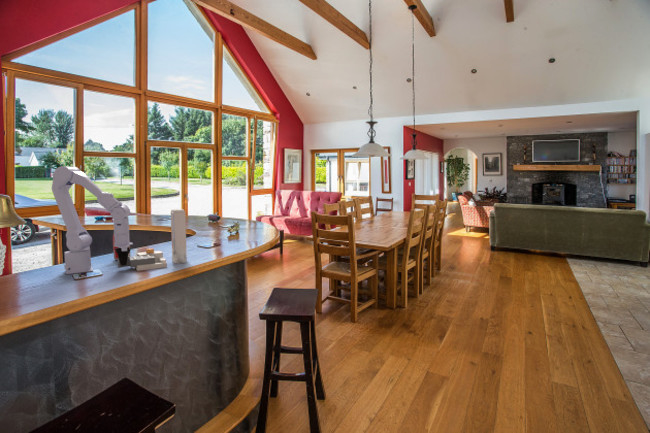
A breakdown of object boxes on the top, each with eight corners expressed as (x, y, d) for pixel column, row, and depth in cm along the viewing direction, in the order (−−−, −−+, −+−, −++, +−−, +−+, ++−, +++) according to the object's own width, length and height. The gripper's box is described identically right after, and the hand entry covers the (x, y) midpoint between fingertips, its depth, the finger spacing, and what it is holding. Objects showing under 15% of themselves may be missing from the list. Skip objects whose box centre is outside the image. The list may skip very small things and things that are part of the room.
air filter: (182, 264, 176) (180, 210, 173) (169, 263, 177) (167, 209, 174) (189, 260, 182) (188, 209, 179) (177, 260, 184) (175, 208, 181)
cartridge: (119, 268, 161) (118, 259, 161) (117, 265, 166) (116, 256, 166) (155, 264, 169) (154, 255, 168) (152, 261, 174) (152, 252, 174)
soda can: (118, 261, 179) (116, 234, 178) (111, 259, 183) (109, 232, 182) (133, 259, 185) (132, 232, 183) (126, 256, 189) (124, 231, 188)
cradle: (137, 270, 164) (136, 259, 163) (132, 264, 175) (132, 253, 174) (167, 267, 170) (166, 256, 170) (160, 260, 182) (160, 250, 181)
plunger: (146, 260, 174) (146, 250, 174) (145, 259, 177) (145, 248, 176) (155, 260, 176) (154, 249, 175) (153, 258, 179) (153, 248, 178)
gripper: (134, 235, 159) (136, 267, 161) (129, 230, 171) (131, 260, 173) (115, 236, 155) (117, 269, 157) (112, 231, 167) (113, 262, 169)
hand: (123, 264), depth 165 cm, fingers closed on cartridge, 2 cm apart
